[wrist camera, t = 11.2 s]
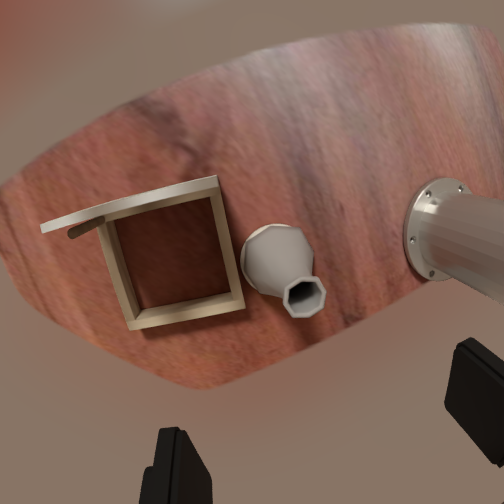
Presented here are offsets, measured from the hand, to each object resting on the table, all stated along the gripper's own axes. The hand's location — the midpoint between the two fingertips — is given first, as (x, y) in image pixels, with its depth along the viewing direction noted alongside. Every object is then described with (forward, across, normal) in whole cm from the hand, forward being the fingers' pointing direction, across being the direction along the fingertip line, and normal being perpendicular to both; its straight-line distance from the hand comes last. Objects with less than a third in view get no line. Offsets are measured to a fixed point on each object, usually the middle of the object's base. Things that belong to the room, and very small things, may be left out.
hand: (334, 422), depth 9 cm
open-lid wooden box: (+23, +8, -1) cm, 25 cm away
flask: (+23, -2, +2) cm, 23 cm away
